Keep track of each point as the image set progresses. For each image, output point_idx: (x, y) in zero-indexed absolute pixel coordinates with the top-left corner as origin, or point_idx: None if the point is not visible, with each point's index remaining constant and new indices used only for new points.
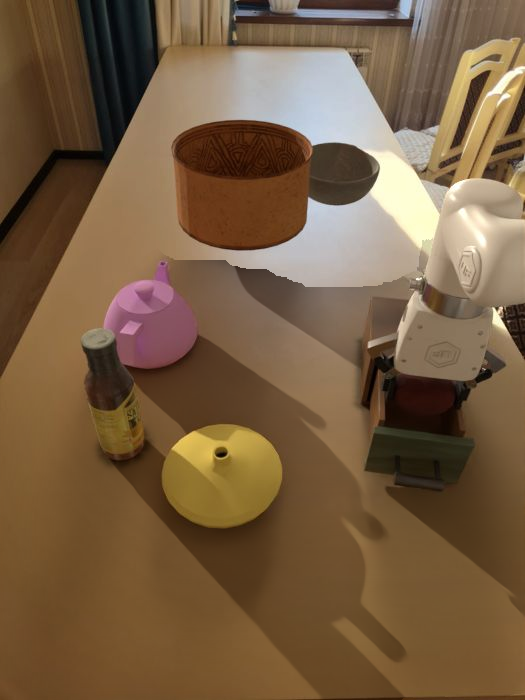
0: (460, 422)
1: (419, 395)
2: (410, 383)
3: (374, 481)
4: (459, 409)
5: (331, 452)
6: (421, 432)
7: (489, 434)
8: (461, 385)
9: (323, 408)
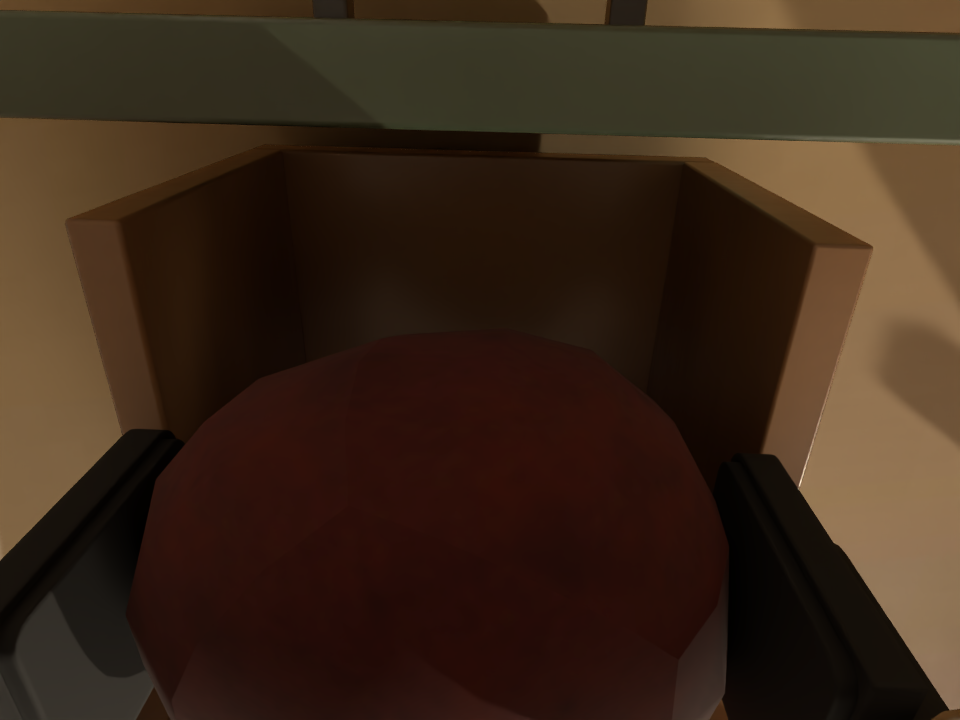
0: (122, 307)
1: (534, 513)
2: (634, 660)
3: (682, 6)
4: (134, 429)
5: (890, 179)
6: (481, 121)
7: (100, 383)
8: (23, 685)
9: (865, 440)
